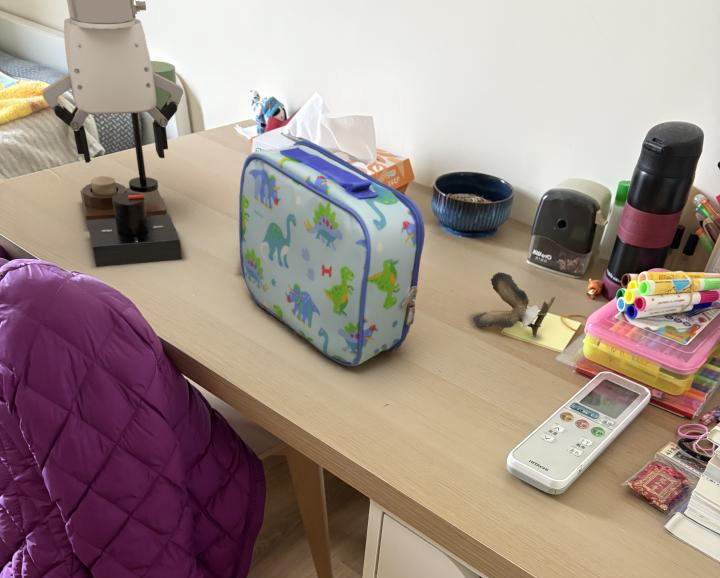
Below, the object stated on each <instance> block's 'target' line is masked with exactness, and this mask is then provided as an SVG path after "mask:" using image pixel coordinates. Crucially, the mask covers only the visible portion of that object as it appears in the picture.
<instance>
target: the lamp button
mask: <svg viewBox="0 0 720 578" xmlns="http://www.w3.org/2000/svg"><path fill="white" fill-rule="evenodd" d="M116 183H117V182H116V179H115V178H113V177H112V176H107V175H106V176H102V175H101V176H95V177H93V178H91V179H90V184H91V186H92V192H93V193H94V194H97V195H110V194H113V193H116V192H117V190H116Z"/></svg>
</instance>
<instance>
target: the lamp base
mask: <svg viewBox="0 0 720 578" xmlns="http://www.w3.org/2000/svg"><path fill="white" fill-rule="evenodd" d="M115 183H116V190H117V192H116V193H113V194H110V195H97V194H94V193H93V192H92V186H91V183H89V184H86V185H85V186H83V188H81V189H80V190H79V191H80V195H81V196H80V197H81V200H82V207H83V211H84V215H85V221H86V222H87V220H96V219H111V218H115V214H114V208H113V202H112V198H113V197H114V196H115V195H117V194H120V193H137V194H140V195H144V199H145V206H146V214H147V216H153V215H167V214H168V211H167V208H166V206H165V204H164V201H163V198H162V195H161V193H160V191H159V188H158V189H157V190H155V191H152V192H145V193H142V192H135V191H132V190H131V189H130V188H129V187H126V186H125V185H123V184H121V183H118V182H115ZM86 225H87V227H88V224H87V223H86ZM87 230H88V231H89V229H88V228H87Z"/></svg>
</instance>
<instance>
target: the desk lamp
mask: <svg viewBox="0 0 720 578" xmlns="http://www.w3.org/2000/svg"><path fill="white" fill-rule="evenodd" d="M150 61H151V67H152V72H154V73H156V74H158V75H160V76H162V77H164V78H166V79H168V80H170V81H172V82H174V83H176V84H177V77H176V76H177V75H176V67H175V65H174V64H172V63H169V62H166V61H159V60H150ZM155 92H156V106H157V107H158V108H159V109H160V110H161V108H162V107H163V106H164V105H165V103H166V102H167V101H168V99H169V95H170V93H169V92H167V91H165V90H163V89H161V88H159V87H157V86H155ZM130 117H131V124H132V125H131V126H132V133H133V139H134V140H133V141H134V148H135V156H136V162H137V170H138V177H134V178H131V179H130V180H129V181H128V188H130V189H131V190H132V191H135V192H142V193H145V192H152V191H155V190H157V189H158V190H159V182H158V180H157V179H155V178H153V177H149V176H147V174H146V168H145V160H144V159H145V158H144V152H143V151H144V150H143V144H142V143H143V142H142V136H141V126H140V119H139V113H130Z"/></svg>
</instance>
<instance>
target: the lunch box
mask: <svg viewBox="0 0 720 578" xmlns="http://www.w3.org/2000/svg"><path fill="white" fill-rule="evenodd" d="M239 193H240V197H239V196H238V203H239V205H238V212H239V214H238V234H239V235H238V236H239V237H238V239H239V240H238V241H239V257H240V268H242V273H243V274H242V277H243V280H244V283H245V285H246V288H247V290H248V292H249V293H250V296H251V297H252V299H253V300H254V302H256V303H257V305H259V306H260V307H261V308H263V309H264V310H265V311H267V312H268V313H269V314H271V315H272V316H274V317H275V318H277V319H278V320H279V321H281V322H282V323H283V324H285V325H286V326H287V327H289V328H290V329H292V330H293V331H294V332H295V334H296V335H298V336H300V337H302V338H303V339H304V340H306V341H307V342H309V343H310V344H311V345H312V346H313V347H315V348H316V349H317V350H318V351H319V352H320V353H322V354H323V355H324V356H326V357H327V358H329V359H330V360H332V361H333V362H336V363H338V364H341V365H342V366H347V367H356V366H359V365H361V364H363V363H365V362H366V361H368V360H369V359H371V358H373V357H375V356H377V355H379V354H380V353H381V352H385V351H388V352H394V351H395V350H397V349H399V348H400V347H401V346H402V345H403V343H404V342H405V340H406V338H407V337H408V334H409V331H410V329H411V326H412V325H413V324H414V320H415V319H414V318H415V313H416V299H417V294H418V283H419V275H420V265H421V258H422V254H423V248H424V244H425V237H426V235H425V234H426V233H425V231H426V229H425V222H424V219H423V213H422V212H421V210H420V208H419V206H418V205H417V204H416V203H415V202H414V200H413V199H411V198H410V197H408V196H407V195H406V194H404V193H402V192H400V191H399V190H397V189H395V188H393V187H391V186H389V185H388V184H385V183H383V182H382V181H380V180H378V179H377V178H375V177H374V176H371V175H369V174H368V173H367V172H364V171H363V170H361V169H360V168H359V167H357V166H355V165H353V164H352V163H351V162H348V161H347V160H345V159H343V158H342V157H340V156H338V155H336V154H334V153H333V152H330V151H329V150H327V149H326V148H324V147H322V146H320V145H318V144H316V143H315V142H313V141H309V140H299V141H296V142H295V143H293V145H289V146H284V147H279V148H272V149H266V150H265V149H263V150H258V151H254V152H251V153H249V154H248V155H247V156H246V158H245V159H244V162H243V165H242V170H241V175H240V184H239Z"/></svg>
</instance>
